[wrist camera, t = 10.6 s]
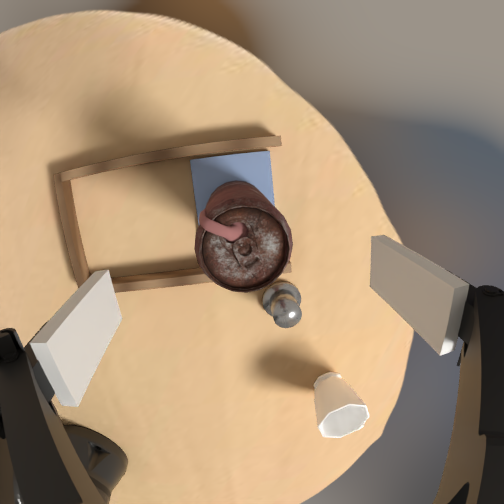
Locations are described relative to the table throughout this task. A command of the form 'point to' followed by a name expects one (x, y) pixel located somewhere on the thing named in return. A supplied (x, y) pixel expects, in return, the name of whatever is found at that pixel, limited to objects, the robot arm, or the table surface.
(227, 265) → the can
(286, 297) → the grey metal knob
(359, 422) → the cup
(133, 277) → the frame
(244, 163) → the front pad
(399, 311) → the robot arm
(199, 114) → the table surface
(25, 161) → the table surface
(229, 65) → the table surface
